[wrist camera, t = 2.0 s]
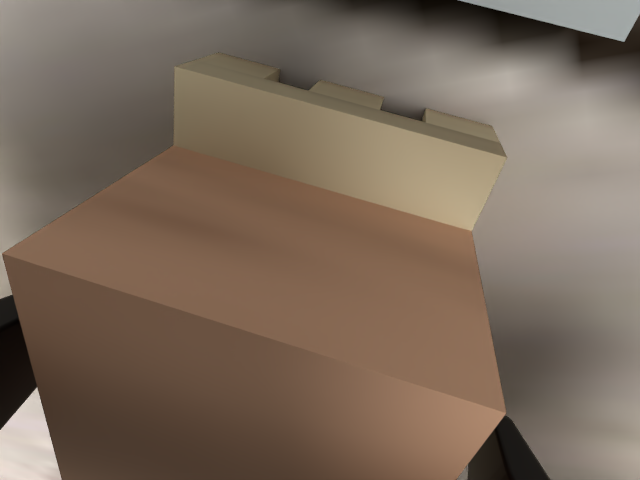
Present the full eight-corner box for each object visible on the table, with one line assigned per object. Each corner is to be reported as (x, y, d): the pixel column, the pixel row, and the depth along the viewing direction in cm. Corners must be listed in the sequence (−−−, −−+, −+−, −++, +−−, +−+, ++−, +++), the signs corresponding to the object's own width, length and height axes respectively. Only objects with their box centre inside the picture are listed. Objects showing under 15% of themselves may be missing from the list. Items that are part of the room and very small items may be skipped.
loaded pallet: (365, 409, 14) (332, 642, 9) (199, 356, 15) (80, 550, 10) (491, 124, 9) (582, 312, 4) (220, 51, 9) (-31, 131, 4)
